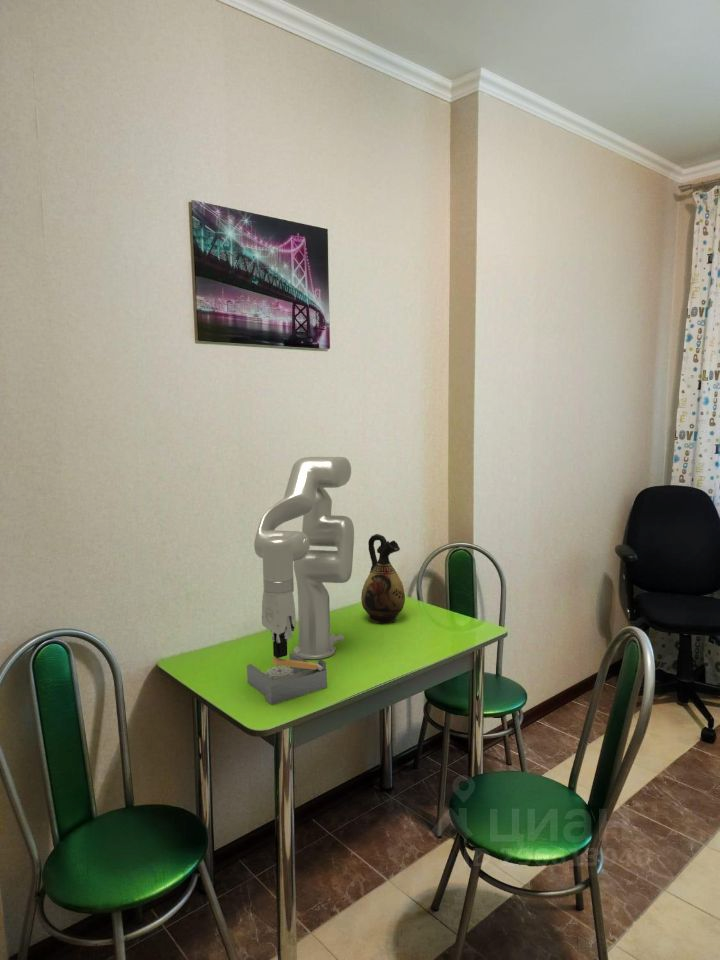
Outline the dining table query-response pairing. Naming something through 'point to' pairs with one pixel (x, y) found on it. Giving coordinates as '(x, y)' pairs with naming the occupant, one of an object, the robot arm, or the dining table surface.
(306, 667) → the bar
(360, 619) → the dining table surface
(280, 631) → the robot arm
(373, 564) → the ceramic jug
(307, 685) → the bracket
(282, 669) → the mechanical component
